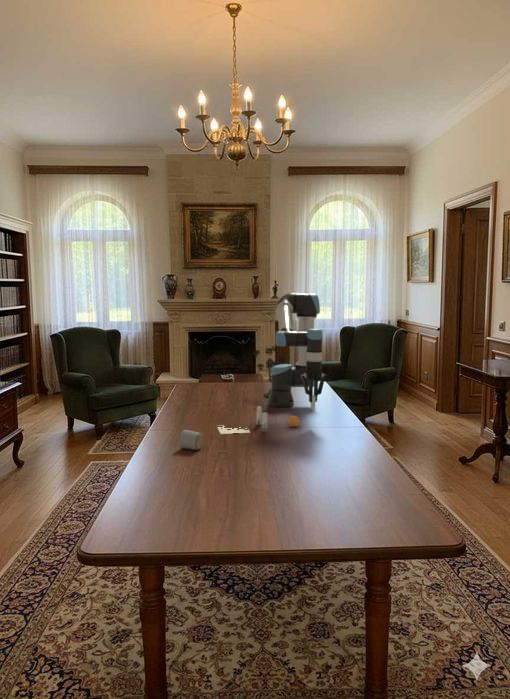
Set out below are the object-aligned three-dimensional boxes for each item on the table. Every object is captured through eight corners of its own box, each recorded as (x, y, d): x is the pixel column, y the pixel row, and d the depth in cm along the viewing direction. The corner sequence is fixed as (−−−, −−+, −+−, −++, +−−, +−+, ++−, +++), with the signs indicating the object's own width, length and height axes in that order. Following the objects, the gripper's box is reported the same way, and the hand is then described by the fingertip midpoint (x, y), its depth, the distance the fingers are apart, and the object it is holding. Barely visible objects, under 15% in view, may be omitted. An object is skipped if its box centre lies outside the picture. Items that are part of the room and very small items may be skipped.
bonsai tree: (252, 391, 330) (253, 343, 326) (289, 391, 330) (290, 343, 326) (252, 403, 295) (253, 349, 291) (293, 403, 295) (295, 350, 292)
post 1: (260, 423, 250) (261, 406, 249) (262, 425, 247) (262, 407, 246) (256, 424, 249) (256, 406, 248) (257, 425, 247) (257, 407, 246)
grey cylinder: (196, 452, 205) (197, 434, 204) (178, 450, 208) (178, 432, 207) (207, 445, 215) (207, 427, 214) (190, 443, 218) (190, 425, 217)
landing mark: (244, 424, 247) (244, 424, 247) (250, 432, 234) (250, 432, 234) (216, 426, 245) (216, 425, 245) (220, 434, 231) (220, 433, 231)
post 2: (266, 430, 238) (267, 412, 236) (267, 432, 235) (268, 413, 234) (261, 431, 237) (261, 412, 236) (262, 432, 235) (263, 413, 233)
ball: (297, 425, 249) (297, 414, 248) (300, 428, 243) (301, 416, 243) (286, 425, 248) (287, 414, 247) (289, 428, 242) (290, 417, 242)
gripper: (324, 359, 249) (322, 406, 251) (298, 359, 246) (297, 407, 248) (329, 361, 241) (328, 409, 244) (303, 361, 239) (302, 410, 241)
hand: (312, 408), depth 246 cm, fingers closed
